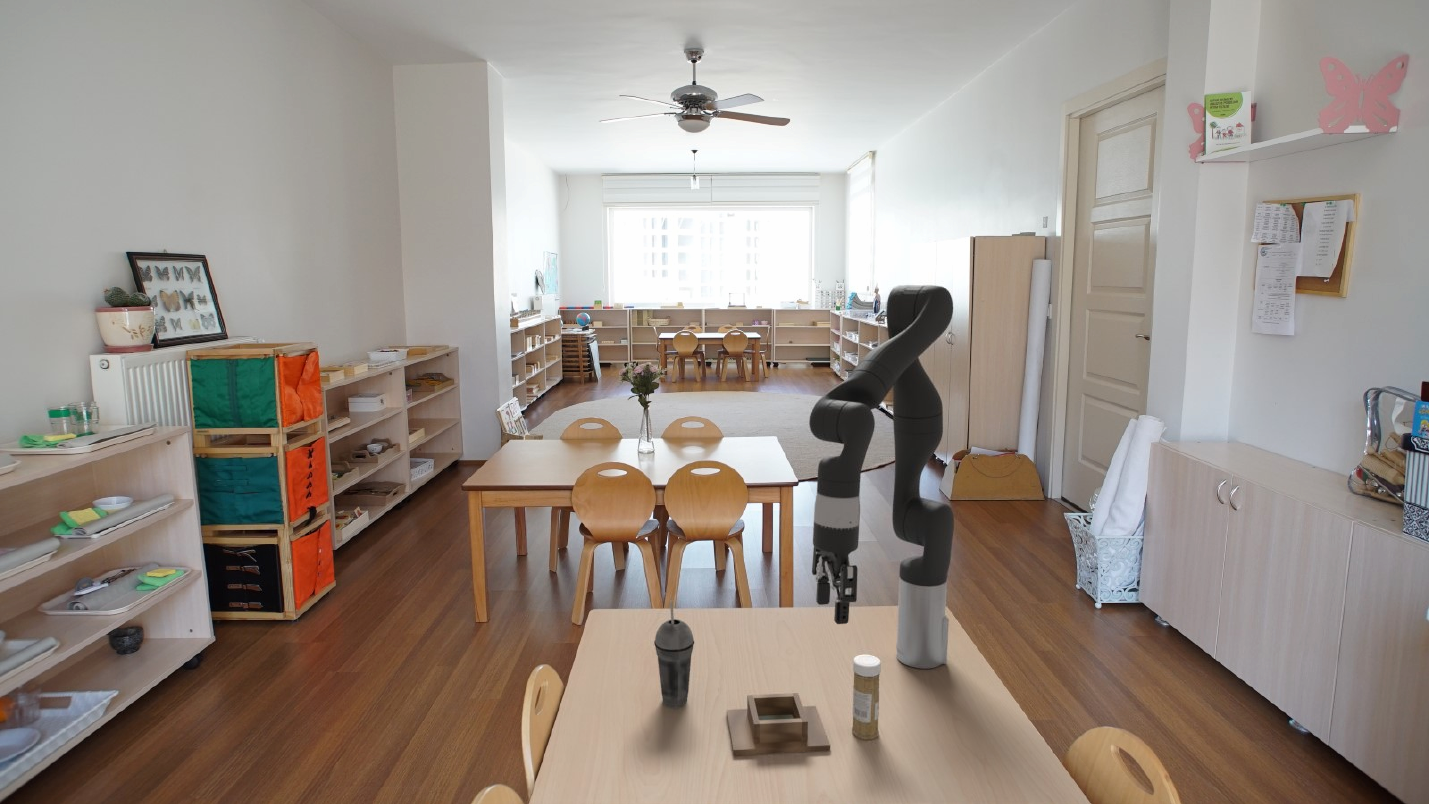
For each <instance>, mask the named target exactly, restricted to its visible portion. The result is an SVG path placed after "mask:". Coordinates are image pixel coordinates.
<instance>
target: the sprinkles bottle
mask: <svg viewBox="0 0 1429 804" xmlns="http://www.w3.org/2000/svg"><path fill="white" fill-rule="evenodd" d="M852 661H853V662H852V665H853V666H852V670H853V686H852V687H853V691H852V728H851V733H852V734H853V735H854V736H855V737H857V739H862V740H873V739H876V738H877V737H878V736H879V715H880V712H879V711H880V690H879V689H880V675H881V671H882V664H881V663H882V662H881V660H880V659H879V658H878V657H877V656H874V655H872V654H858V655H857V656H856V655H855V657H854V658H853V660H852Z"/></svg>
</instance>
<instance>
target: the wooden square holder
mask: <svg viewBox="0 0 1429 804" xmlns="http://www.w3.org/2000/svg"><path fill="white" fill-rule="evenodd" d="M746 698H747V699H746V708H743V709H742V708H739V709H737V708H736V709H726V719H727V724H728V730H729V736H730V743H731V747H732V748H731V749H732V755H733V757H735V756H737V757H738V756H751V755H753V756H755V755H771V754H772V755H774V754H775V755H776V754H793V753H811V752H812V753H815V752H830V751H831V743H830V741H829V738H828V735H827V732H826V730H825V727H824V725H823V721H822V718H821V717H820V714H819V711H818V709H817V706H816V705H807V706H806V705H805V706H803V702H802V700H801V698H800V694H799V693H798V692H795V693H794V692H792V693H789V692H788V693H770V694H769V693H767V694H766V693H765V694H747V697H746Z"/></svg>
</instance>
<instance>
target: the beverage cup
mask: <svg viewBox="0 0 1429 804" xmlns="http://www.w3.org/2000/svg"><path fill="white" fill-rule="evenodd" d="M673 602H674V601H673V600H672V599H670V600H669V605H670V606H669V607H670V609H669V610H670V619H669V620H666V621H665V622H663V623H661V625H660V626H659V628H658V630H657V631H656V634H655V636H654V644H653V645H654V646H655V647H654V648H655V653H656V656H657V661H658V663H657V664H658V672H659V673H658V674H659V682H660V692H661V697H662V704H663V705H665V706H666V707H668V708H680V707H684V706H685V705H686V704H687V703H688V695H689V688H690V686H689V685H690V675H691V666H692V665H691V662H692V655H693V650H694V644H695V640H694V635H693V631H692V629H691V628H690V626H689V625H688V624H687V623H686V622H685V621H682V620H680V619H676V618H675V617H674V616H675V615H674V603H673Z"/></svg>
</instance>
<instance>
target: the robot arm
mask: <svg viewBox="0 0 1429 804" xmlns="http://www.w3.org/2000/svg"><path fill="white" fill-rule="evenodd" d="M952 297H953V296H952V294H951V292H950V290H949V289H947V288H945V287H944V286H940V285H934V284H933V285H932V284H927V285H926V284H921V285H918V284H917V285H915V284H901V285H896V286H895V287H893V288H892V289H891V290H890V291H889V294H888V297H887V302H886V308H885V309H886V326H887V335H888V340H886V341H884V342H883V343H880V344H879V345H878V346H875V347H874V348H873V349H871V350H869V352H868V353H866V354H865V355H864V356H863V357H862V358H861V360H860V361H859V362H858V364H857V365H856V366H855V367H854V369H853V370H852V371H851V373H850V375H849V376H848V377H847V378H846V379H844V380H843V381H842V382H840V383H839V384H837V385H836V386H835V387H833V388H832V389H830V390H829V391H828V392H826V393H825V394H824V395H823V396H821V397H820V399H819V400H818V401H816V403H815V404H814V406H813V407H812V410H811V413H810V415H809V429H810V431H811V432H810V433H812V435H813V436H814V437H815V438H816V439H818V440H820V441H822V442H829V443H835V444H841V445H843V448H842V451H841V452H840V454H839V455H832V456H831V455H830V456H825V457H823V458H822V459H820V460H819V463H818V467H817V486H816V496H815V501H814V511H813V514H814V515H813V530H812V531H813V533H812V545H813V549H812V550H813V553H812V564H811V565H812V567H811V574H812V576H815V577H814V580H815V582H816V599H815V600H816V601H815V602H816V603H817V604H818V606H819V605H824V606H825V605H829V604H830V599H831V590H832V591H833V594H834V599H835V603H834V623H836V624H837V625H846V624H848V623H849V620H850V603H856V602H857V598H858V597H857V596H858V595H857V594H858V565H856V564H855V565H851V564H850V556H849V555H850V554H851V553H853V552H855V551H857V549H858V548H859V538H860V537H859V536H860V519H861V517H860V516H861V501H860V498H861V497H860V493H861V491H860V490H861V473H862V468H863V465H864V462H865V459H866V455H867V452H868V450H869V449H868V448H869V445H870V443H871V441H872V438H873V435H874V432H875V426H876V425H875V424H876V423H875V422H876V421H875V415H874V413H873V411H872V410H874V409H876V408H878V407H879V406H880V405H881V404H882V402H883V401H884V400H885V398H886V397H887V396H888V394H889V392H890V391H891V389H892V400H893V402H892V407H893V408H892V416H893V417H892V419H893V420H892V421H893V422H892V424H893V438H894V484H893V499H892V513H891V514H892V519H891V521H892V528H893V531H894V534H895V536H896V537H897V538H898V539H899V540H901V541H903V542H907V543H910V544H913V545H917V546H920V547H923V552H922V555H917V556H911V557H907V558H905V559H903V560H902V561H901V562H900V564H899V573H898V575H899V577H898V580H899V581H898V597H897V598H898V600H897V601H898V604H897V605H898V606H897V625H896V626H897V629H896V630H897V631H896V632H897V633H896V654H895V655H896V659H898V661H899V662H901V663H902V664H904V665H906V666H908V667H910V668H915V669H923V670H925V669H935V668H938V667H940V666H941V665H946V664H947V663H948V648H949V647H948V645H949V627H950V626H949V625H950V624H949V623H950V621H949V618H948V617H947V615H946V612H947V611H946V607H947V606H946V605H947V604H946V603H947V587H948V586H947V585H948V584H947V583H948V582H947V581H948V572H949V569H950V566H951V558H952V547H953V539H954V532H955V531H954V529H955V516H954V513H953V512H954V511H953V509H952V508H951V507H952V506H950V505H949V504H947V503H946V502H945V503H944V502H942V501H937V500H932V499H928V498H924V497H921V493H920V485H921V476H922V473H923V470H924V469H925V466H926V465H927V463H929V461H930V459H931V457H932V456H933V455H934V453H935V452H936V451H937V448H938V447H939V445H940V443H941V441H942V440H943V439H942V438H943V434H944V413H943V412H944V411H943V409H944V408H943V401H942V398H941V396H940V393H939V391H938V390H937V388H936V386H935V385H934V383H933V381H932V380H931V378H930V377H929V375H928V374H927V372H926V370H925V369H924V367H923V365H922V362H921V361H920V358H919V357H920V356H921V355H923V354H924V352H926V350H927V349H928V348H929V347H931V345H932V344H934V342H936V341H937V340H938V339H939V338H940V337H941V336H942V335H943V334H944V333H945V331H946V330H947V329H948V327H949V326H950V324H951V322H952V318H953V313H954V300H953V298H952Z"/></svg>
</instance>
